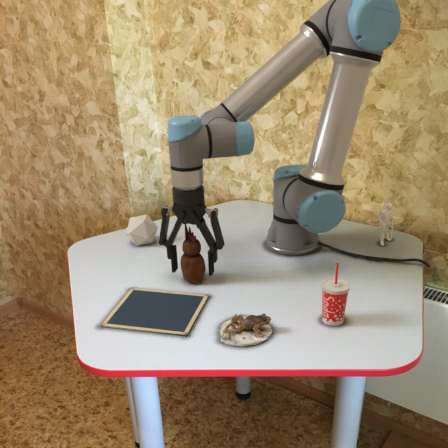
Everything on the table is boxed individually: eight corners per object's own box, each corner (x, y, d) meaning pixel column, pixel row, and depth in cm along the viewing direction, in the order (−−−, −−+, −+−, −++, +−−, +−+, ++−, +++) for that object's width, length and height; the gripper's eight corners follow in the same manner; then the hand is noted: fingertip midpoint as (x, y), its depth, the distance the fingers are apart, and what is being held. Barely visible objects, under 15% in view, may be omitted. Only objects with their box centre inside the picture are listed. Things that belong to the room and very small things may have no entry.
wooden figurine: (178, 277, 139) (174, 223, 132) (199, 272, 141) (196, 219, 134) (187, 288, 133) (183, 232, 126) (209, 283, 135) (206, 228, 128)
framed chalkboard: (208, 296, 130) (208, 294, 129) (186, 336, 114) (186, 334, 114) (131, 289, 134) (131, 287, 134) (101, 326, 119) (100, 325, 118)
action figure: (381, 246, 153) (386, 206, 147) (372, 242, 155) (376, 202, 149) (397, 241, 156) (402, 201, 150) (387, 237, 158) (392, 198, 152)
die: (153, 236, 165) (131, 212, 162) (168, 230, 158) (145, 204, 155) (137, 255, 161) (114, 230, 157) (152, 248, 154) (128, 222, 150)
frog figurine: (269, 315, 121) (270, 301, 119) (275, 345, 110) (275, 330, 108) (219, 317, 121) (218, 302, 119) (219, 347, 110) (219, 332, 108)
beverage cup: (313, 316, 120) (317, 260, 113) (337, 311, 122) (342, 255, 115) (327, 330, 115) (332, 271, 108) (352, 324, 117) (358, 266, 110)
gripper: (236, 182, 126) (238, 268, 137) (149, 179, 131) (157, 262, 142) (229, 192, 119) (231, 282, 130) (138, 188, 124) (147, 274, 135)
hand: (193, 271), depth 136 cm, fingers open, 9 cm apart
